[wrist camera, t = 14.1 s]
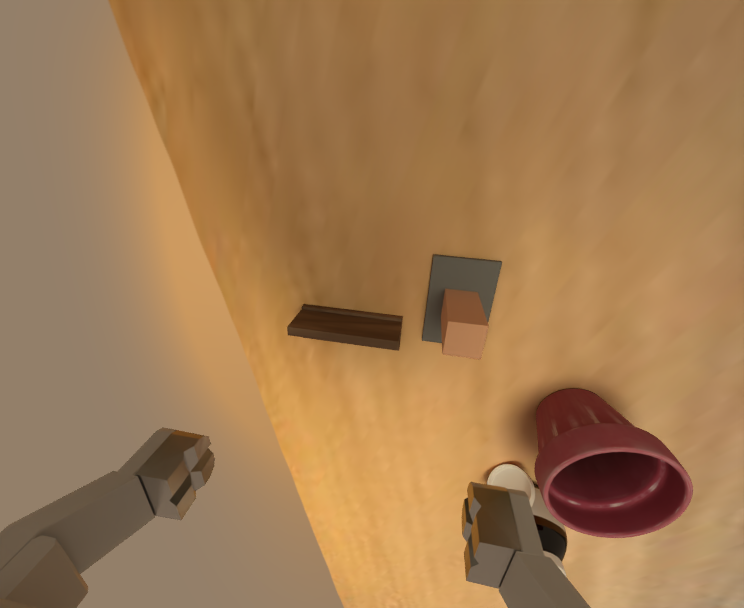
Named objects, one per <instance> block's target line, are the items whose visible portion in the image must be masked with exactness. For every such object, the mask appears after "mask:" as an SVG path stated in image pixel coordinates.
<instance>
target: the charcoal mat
mask: <svg viewBox="0 0 744 608" xmlns="http://www.w3.org/2000/svg"><path fill="white" fill-rule="evenodd" d="M501 264H502V262H501V261H495V260H485V259H474V258H464V257H454V256H444V255H434V256H433V263H432V271H431V278H430V285H429V293H428V300H427V307H426V314H425V322H424V329H423V336H422V341H430V342H437V343H442V333H441V312H442V306H443V299H444V293H445V289H454V290H463V291H472V292H478V294H479V297H480V301H481V304H482V307H483V310H484V313H485V316H486V319H487V322H488V321H489V316H490V312H491V308H492V303H493V299H494V295H495V290H496V286H497V282H498V277H499V273H500V269H501Z"/></svg>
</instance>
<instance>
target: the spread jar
mask: <svg viewBox="0 0 744 608" xmlns="http://www.w3.org/2000/svg"><path fill="white" fill-rule="evenodd" d="M487 485H493V486H499V487H505V488H508V489H514V490H521V491H525V492H526V494H527V495H528V498H529V502H530V505H531V509H532V512H533V516H534V520H535V523H536V527H537V530H538V534H539V538H540V541H541V545H542V548H543V552H544V555H545V556H546V557H550V558H551V559H552V560H553V561H554V562H555V564H556V565H557V566H558V567H559V569H560V570H561V571H562V572H563V574H564V575H565V576H566V573H565V570H564V567H563V564H562V560H563V558H564V556H565V553H566V548H567V536H566V531H565V528H564V525H563V524H562V523H560V522H559V521H558V520H557V519H555V518H554V517H553V516H552V515H551V513H550V512H549V511H548V509H547V507H546V505H545V503H544V501H543V498H542V495H541V492H540V490H539V487H537V486H535V485H533V482H532V480H531V478H530V477H529V476H528V475H527V473H525V472H524V471H523V470H522V469H521V468H519V467H517V466H515V465H512V464H502V465H499V466H498V467H496V468H495V469H494V470H492V472H491V473H490V475H489V477H488V481H487Z"/></svg>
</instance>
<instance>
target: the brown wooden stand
mask: <svg viewBox="0 0 744 608" xmlns="http://www.w3.org/2000/svg"><path fill="white" fill-rule="evenodd" d="M402 318H403V316H395V315H387V314H379V313H371V312H363V311H355V310H347V309H339V308H330V307H322V306H314V305H306V304H304V305H303V306H302V310H301V311H300V312H299V313H298V315H297V316H296V317H295V318H294V319H293V321H292V322H291V323H290V324H289V325H288V327H287V330H288V335H291V336H299V337H303V338H311V339H318V340H325V341H332V342H340V343H347V344H354V345H362V346H369V347H376V348H384V349H391V350H398V351H399V347H400V337H401V328H402Z"/></svg>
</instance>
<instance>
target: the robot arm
mask: <svg viewBox="0 0 744 608" xmlns="http://www.w3.org/2000/svg"><path fill="white" fill-rule="evenodd" d="M210 444H211V442H210V439H209V437H208V436H204V435H199V434H194V433H189V432H184V431H179V430H174V429H168V428H161V429H159V430H157V431H156V432H155V433H154V434H153V435H152V436H151V437H150V438H149V439H148V440H147V442H145V443H144V445H143V446H142V447H141V448H140V449H139V450H138V451H137V452H136V453H135V454H134V455H133V456H132V457H131V458H130V459H129V460H128V461H127V462H126V463H125V464H124V465H123V466H122V468H121V469H120V470H119V471H118V472H116V471H112V472H110V473H108V474H106V475H104V476H103V477H101V478H99V479H97V480H95V481H93V482H91V483H89V484H87V485H86V486H83V487H81V488H79V489H77V490H76V491H74V492H72V493H70V494H68V495H66V496H64V497H62V498H60V499H58V500H56V501H54V502H53V503H51V504H49V505H47V506H45V507H43V508H41V509H39V510H37V511H35V512H33V513H31V514H29V515H27V516H25V517H23V518H22V519H20V520H18V521H16V522H14V523H12V524H10V525H9V526H7V527H6V528H5V529H4V530H3V531H2V532H1V533H0V608H77V606H78V605H79V604H80V602H81V601H82V600H83V598H84V597H85V596H86V594H87V593H88V586H87V584H86V583H85V581H84V580H83V578H82V577H81V575H80V574H81V573H82V572H84V571H85V570H86V569H88V568H89V567H90V566H92V565H93V564H94V563H95V562H97V561H98V560H99V559H101V558H102V557H103V556H105V555H106V554H107V553H109V552H110V551H111V550H113V549H114V548H115V547H116V546H118V545H119V544H120V543H122V542H123V541H124V540H126V539H127V538H128V537H130V536H131V535H132V534H134V533H135V532H136V531H137V530H139V529H140V528H142V527H143V526H144V525H146V524H147V523H148V522H149V521H151V520H152V519H153V518H154V517H155V516H160V517H165V518H171V519H177V520H182V518H183V517H184V515H185V514H186V512H187V511H188V509H189V508H190V506H191V505H192V503H193V502H194V500H195V499H196V490H198V489H199V488H201V487H202V486H204V485H205V484H206V482H207V481H208V479H209V477H210V476H211V473H212V470H213V467H214V461H215V458H214V454H213V453H212V452H211V451H210V450H209V449H208V447H209V446H210ZM467 493H468V498H466V499H464V503H463V508H462V535H463V537H464V538H465V540H466V541H467V544H466V547H465V551H464V560H465V572H466V581H469V582H473V583H477V584H482V585H486V586H490V587H494V588H498V589H499V592H500V594H501V596H502V598H503V599H504V601H505V603H506V605H507V607H508V608H590V606H589V605H588V604H587V603H586V601H585V600H584V599H583V598H582V596H581V595H580V594H579V592H578V591H577V590H576V589H575V587H574V586H573V585H572V584H571V582H570V581H569V580H568V579H567V577H566V576H565V575H564V574H563V572H562V571H561V570H560V569H559V567H558V566H557V565H556V564H555V562H554V561H553V560H552V559H551V558H550V557H546V556H545V555H544V552H543V548H542V545H541V541H540V538H539V534H538V530H537V527H536V523H535V520H534V516H533V512H532V509H531V505H530V502H529V498H528V495H527V494H526V492H525V491H521V490H514V489H508V488H505V487H499V486H493V485H487V484H481V483H474V482H470V483H469V485H468V488H467Z"/></svg>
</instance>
